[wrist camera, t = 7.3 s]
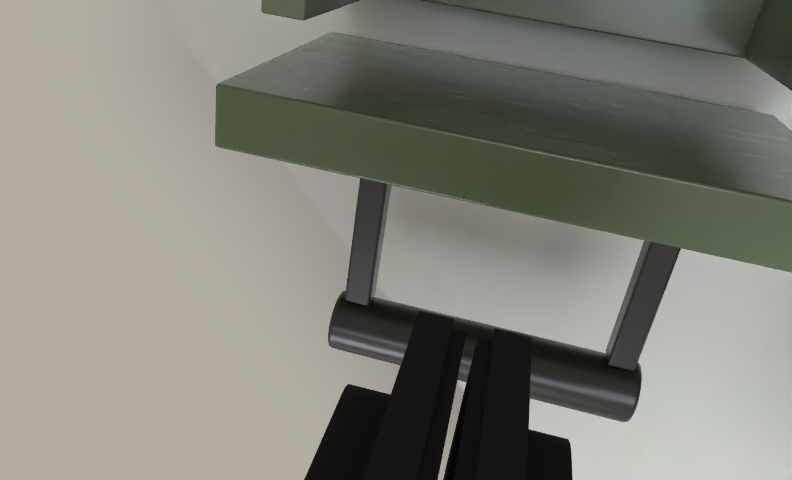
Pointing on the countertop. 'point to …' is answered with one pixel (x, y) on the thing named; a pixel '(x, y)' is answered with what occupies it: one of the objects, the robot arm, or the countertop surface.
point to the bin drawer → (534, 160)
